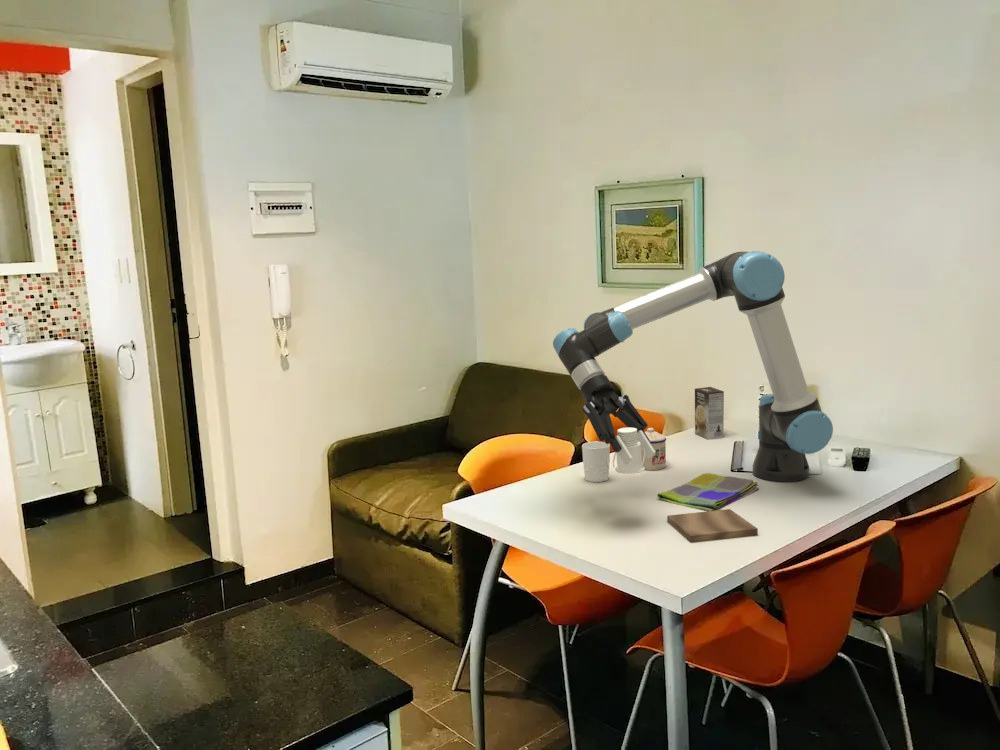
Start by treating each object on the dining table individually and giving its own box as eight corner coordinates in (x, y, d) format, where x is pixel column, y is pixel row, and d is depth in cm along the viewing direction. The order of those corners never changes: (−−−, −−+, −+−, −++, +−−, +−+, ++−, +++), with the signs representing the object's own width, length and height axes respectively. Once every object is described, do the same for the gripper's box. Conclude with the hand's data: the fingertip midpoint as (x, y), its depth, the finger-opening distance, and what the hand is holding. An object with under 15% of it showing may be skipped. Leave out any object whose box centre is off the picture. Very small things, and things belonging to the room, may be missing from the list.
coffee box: (693, 434, 275) (693, 388, 273) (710, 432, 277) (710, 386, 274) (707, 439, 267) (707, 392, 264) (724, 437, 268) (724, 390, 266)
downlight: (641, 464, 195) (638, 424, 193) (650, 472, 188) (648, 431, 186) (609, 468, 194) (606, 428, 192) (618, 476, 187) (615, 435, 185)
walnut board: (729, 515, 194) (729, 509, 194) (757, 534, 180) (757, 528, 180) (667, 521, 192) (667, 515, 191) (690, 542, 178) (690, 535, 178)
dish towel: (653, 501, 209) (653, 490, 208) (703, 479, 226) (703, 469, 225) (713, 514, 196) (713, 503, 196) (761, 490, 213) (761, 480, 213)
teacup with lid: (656, 472, 232) (655, 433, 230) (629, 467, 238) (628, 429, 236) (677, 463, 241) (676, 425, 239) (651, 458, 247) (650, 421, 245)
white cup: (610, 474, 232) (609, 441, 230) (611, 482, 224) (610, 448, 223) (582, 475, 233) (581, 441, 231) (582, 483, 225) (581, 448, 224)
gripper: (614, 386, 206) (662, 459, 196) (555, 397, 196) (601, 475, 185) (628, 368, 201) (678, 442, 191) (568, 378, 190) (617, 457, 180)
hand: (640, 458), depth 188 cm, fingers closed on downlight, 7 cm apart
